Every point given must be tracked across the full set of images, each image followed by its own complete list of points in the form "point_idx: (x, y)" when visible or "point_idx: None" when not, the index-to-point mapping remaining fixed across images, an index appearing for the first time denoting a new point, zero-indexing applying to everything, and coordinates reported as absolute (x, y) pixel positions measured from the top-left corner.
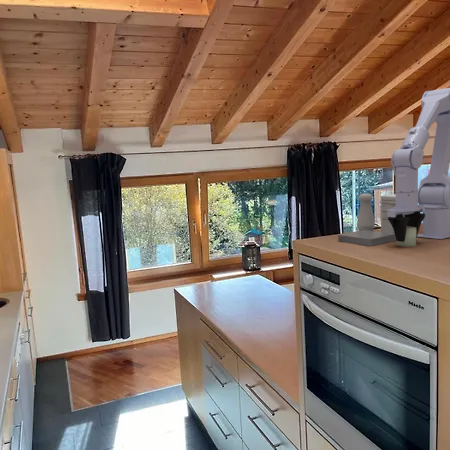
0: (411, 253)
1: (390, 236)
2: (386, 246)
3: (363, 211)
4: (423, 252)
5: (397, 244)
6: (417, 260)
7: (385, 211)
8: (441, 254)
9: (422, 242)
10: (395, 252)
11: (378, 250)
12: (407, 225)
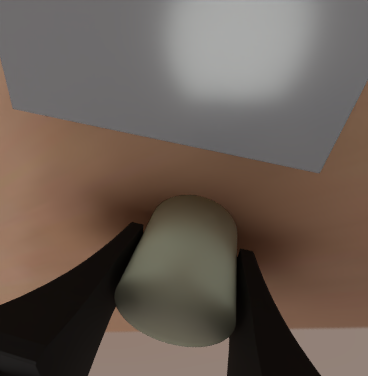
0: None
1: (236, 151)
2: (103, 171)
3: None
4: None
5: (161, 204)
6: (14, 295)
7: None
8: (112, 326)
9: (286, 270)
10: (38, 236)
11: (12, 175)
12: (249, 313)
